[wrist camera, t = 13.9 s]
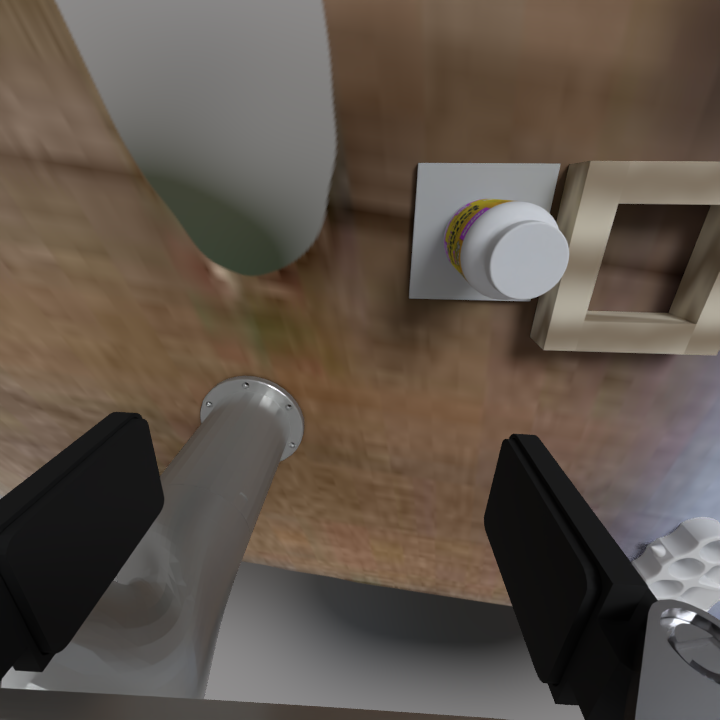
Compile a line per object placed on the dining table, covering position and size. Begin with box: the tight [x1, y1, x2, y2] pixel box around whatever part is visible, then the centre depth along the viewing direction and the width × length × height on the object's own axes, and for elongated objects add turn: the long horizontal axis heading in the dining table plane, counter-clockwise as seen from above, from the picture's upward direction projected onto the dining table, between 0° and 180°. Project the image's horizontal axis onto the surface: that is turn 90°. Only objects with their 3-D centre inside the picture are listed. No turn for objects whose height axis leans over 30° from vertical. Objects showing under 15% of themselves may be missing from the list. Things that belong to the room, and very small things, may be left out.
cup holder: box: [530, 161, 720, 355], centre depth 32 cm, size 16×16×4 cm
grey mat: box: [409, 163, 560, 301], centre depth 33 cm, size 12×12×1 cm
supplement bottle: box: [444, 199, 569, 300], centre depth 27 cm, size 7×7×13 cm
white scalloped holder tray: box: [632, 517, 720, 612], centre depth 49 cm, size 3×18×15 cm
